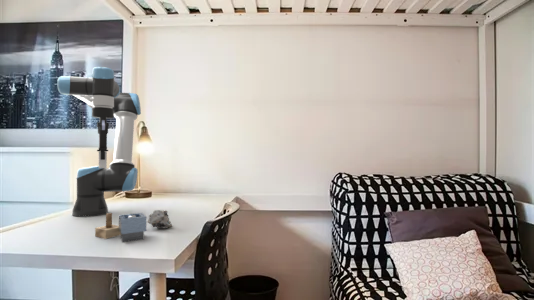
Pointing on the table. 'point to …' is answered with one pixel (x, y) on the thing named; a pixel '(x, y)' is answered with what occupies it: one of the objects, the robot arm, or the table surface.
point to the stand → (107, 229)
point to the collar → (132, 223)
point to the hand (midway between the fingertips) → (102, 168)
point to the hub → (132, 234)
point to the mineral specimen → (159, 219)
